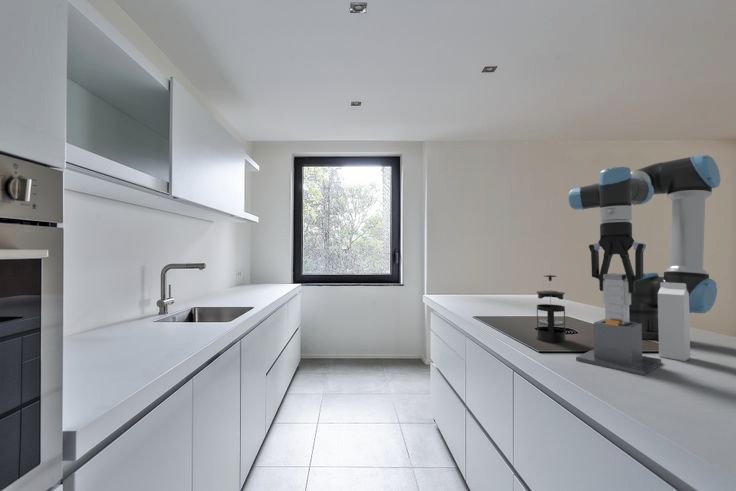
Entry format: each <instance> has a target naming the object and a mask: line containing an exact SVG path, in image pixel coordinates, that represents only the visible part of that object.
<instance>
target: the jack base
mask: <svg viewBox="0 0 736 491" xmlns="http://www.w3.org/2000/svg"><path fill="white" fill-rule="evenodd" d="M629 323H630V326H622V325H620V321H616V320H609V319H607V320H606V318H604V319H599V320H597V321H595V322H593V349H591V350H589V351H587V352H584V353H582V354H580V355H578V356H575V357H576V358H575V360H576V362H581V363H586V364H590V365H591V364H592V365H595V366H600V367H605V368H609V369H613V370H619V371H623V372H627V373H633V374H636V375H641V376H646V375H647V374H648V373H650V372H651V371H652V370H654V369H655V368H656V367H658V366H659V365H660V364H662V358H656V357H651V356H646V355H643V339H642V323H635V322H629Z"/></svg>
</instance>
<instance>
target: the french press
mask: <svg viewBox="0 0 736 491" xmlns="http://www.w3.org/2000/svg"><path fill="white" fill-rule="evenodd" d="M543 277H546V278H548V281H549V290H543V291H541V290H540V291H539V290H538V291H536V294H537V298H538V299H539V300H540V299H543V298H549V303H548V304H547V303H546V304H545V303H543V304H542V303H541V304H540V303H539V304H537V305H536V339H537V340H538V341H541V342H546V343H550V344H551V343H554V344H562V343H566V342H567V339H566V306H564V305H562V304H561V305H560V304H552V298H555V299H556V298H557V299H559V300H564V295H565V292H562V291H557V290H552V279H553V278H557V275H552V274H545V275H543ZM538 311H543V312H547V319H546V318H545V319H544V318H543V319H539V315H538V314H539V313H538ZM556 312H557V313H559V312H560V313H561V312H563V321H562V320H557V319H555V313H556ZM539 324H541V325H546V326H547V327H539ZM555 326H563V329H560V328H555Z"/></svg>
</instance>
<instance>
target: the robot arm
mask: <svg viewBox="0 0 736 491" xmlns="http://www.w3.org/2000/svg"><path fill="white" fill-rule="evenodd" d="M598 177H599V179H598V183H593V184H590V185H585V186H579V187H575V188H572V189H571V190H570V191H569V192H568V197H567V200H568V204H569V206H570V207H571V208H572V209H573V210H577V211H578V210H587V209H595V208H599V221H600V222H602V223H600V224H599V235H600V236H599V237H600V238H599V240H598V242H596V243H592V244H589V245H588V248H589V251H590V260H591V277H592V278H595V279H597V280H598V281H599V286H598V287H599V290H600V292H603V293H602V294H603V296H602V298H603V299H602V302H603V304H605V279H603V274H609V273H608V272H609V269H610V265H611V262H612V261H611V260H612V258H613V256H614V255H619V257H620V259H621V262H622V265H623V268H624V269H623V270H624V272H625V274H626V276H627V279H628V280H627V281H625V305H629V322H635V323H642V340H659V329H658V292H659V289H660V283H661V282H668V283H685V284H686V289H687V291H688V293H689V314H692V313H693V314H706V313H708V312H709V311H710V310H711V309H712V308H713V307H714V304H715V302H716V300H717V294H718V287H717V282H716V281H715V279H712V278H710V273H709V272H707V271H706V270H705V269H704V253H705V252H704V248H705V218H706V199H707V198H710V196H712V192H713V189H716V188H718V187H719V186H720V183H721V173H720V170H719V167H718V164H717V162H716V160H714V158H713V157H711V155H708V154H702V155H695V156H694V155H692V156H689V157H685V158H684V157H683V158H680V159H679V158H678V159H674V160H667V161H664V162H663V161H662V162H658V163H653V164H650V165H648V166H644V167H641V168H638V169H636V170H631V168H630V167H628V166H614V167H608V168H604V169H602V170H600V172H599V176H598ZM665 194H666V197H667V198H668V199H669V200H671V201H672V204H671V221H670V222H671V225H670V226H671V227H670V246H669V247H670V250H669V251H670V252H669V267H668V268H667V269H665V270H664V271H663V276H660V274H659V273H658V272H646V273H644V251H645V250H646V244H645V243H640V242H638V241H637V242H636V241H635V240H634V238H633V223H632V222H631V221H632V219H633V215H632V213H633V212H632V205H633V206H635V205H644V204H646V203H648V202H650V200H651V199H653V196H654V195H665ZM632 247H633V250H635V254H634V255H635V256H634V262H635V266H634V267H635V270H634V269H633V266H632V262H631V259H630V254H629V251H630V249H631V248H632ZM600 248H601V249H602V250H603V251H604V252H603V259H602V264H601V267H600V255H599V254H600V253H599V250H600ZM634 271H635V273H634Z"/></svg>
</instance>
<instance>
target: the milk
mask: <svg viewBox="0 0 736 491" xmlns="http://www.w3.org/2000/svg"><path fill="white" fill-rule="evenodd" d="M658 329H659V339H658V356H659V357H660V358H666V359H671V360H677V361H682V362H686V361H687V360H689V359H690V358H691V331H690V313H689V293H688V291H687V289H686V284H685V283H668V282H661V283H660V289H659V292H658Z"/></svg>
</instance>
